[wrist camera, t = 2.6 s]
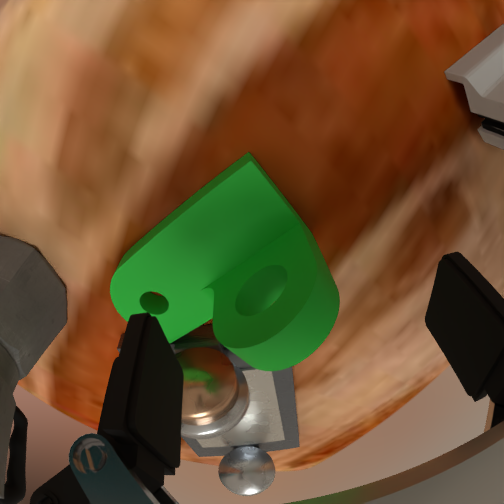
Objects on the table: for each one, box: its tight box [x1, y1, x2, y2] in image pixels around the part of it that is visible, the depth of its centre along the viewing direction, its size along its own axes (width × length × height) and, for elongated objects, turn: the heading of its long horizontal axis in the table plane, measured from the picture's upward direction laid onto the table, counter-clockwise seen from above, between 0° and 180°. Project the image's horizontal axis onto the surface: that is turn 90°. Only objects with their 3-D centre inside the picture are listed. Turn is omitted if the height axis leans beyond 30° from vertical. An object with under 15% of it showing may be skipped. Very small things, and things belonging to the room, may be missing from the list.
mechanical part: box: [110, 152, 340, 371], centre depth 15 cm, size 12×6×8 cm, turn 127°
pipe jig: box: [117, 324, 300, 496], centre depth 23 cm, size 21×12×8 cm, turn 9°
